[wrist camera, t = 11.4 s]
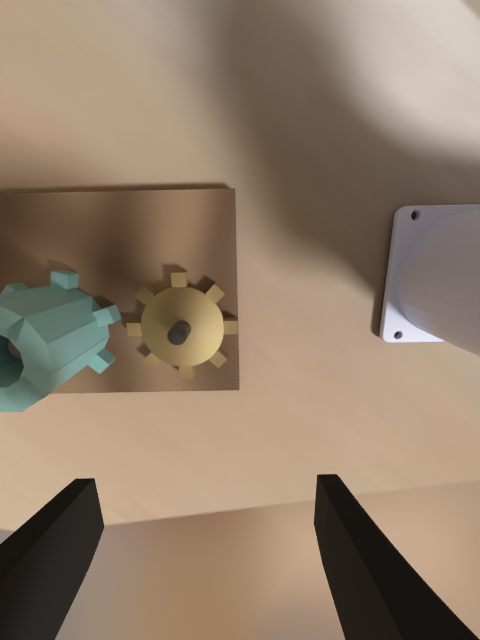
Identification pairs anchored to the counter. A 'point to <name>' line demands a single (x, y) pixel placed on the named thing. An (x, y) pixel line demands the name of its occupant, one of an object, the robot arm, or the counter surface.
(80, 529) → the robot arm
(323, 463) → the counter surface
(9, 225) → the gear board
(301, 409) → the counter surface
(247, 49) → the counter surface
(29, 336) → the gear
